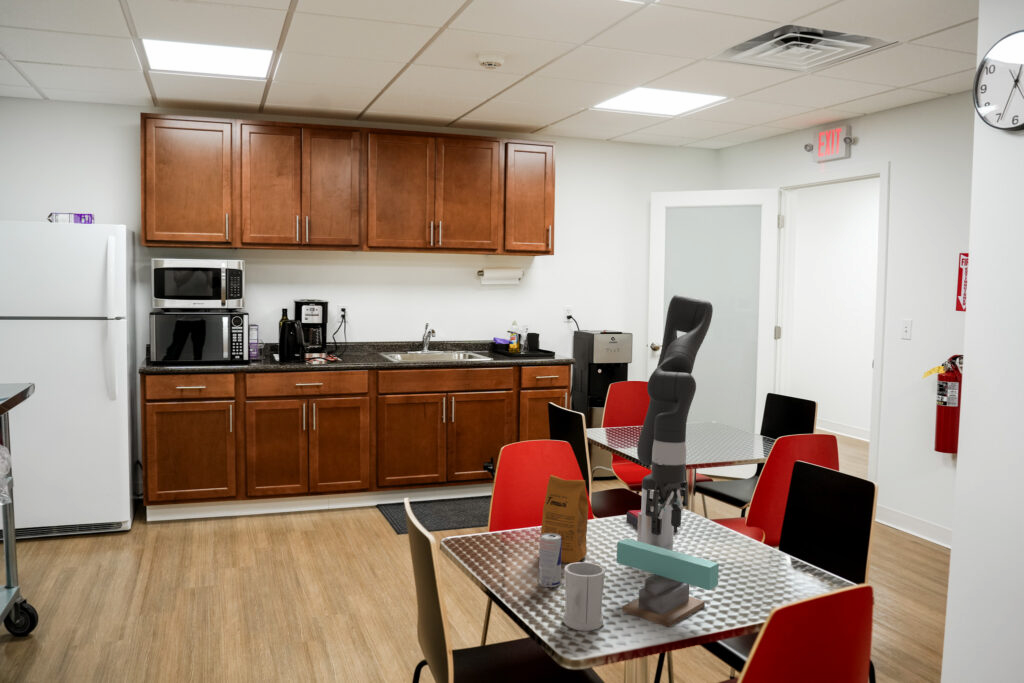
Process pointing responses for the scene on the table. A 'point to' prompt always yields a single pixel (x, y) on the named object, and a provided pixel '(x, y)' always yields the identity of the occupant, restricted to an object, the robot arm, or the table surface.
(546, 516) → the coffee package
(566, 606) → the cup
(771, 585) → the table surface
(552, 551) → the energy drink
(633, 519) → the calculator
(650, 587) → the ridge block
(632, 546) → the teal bar
